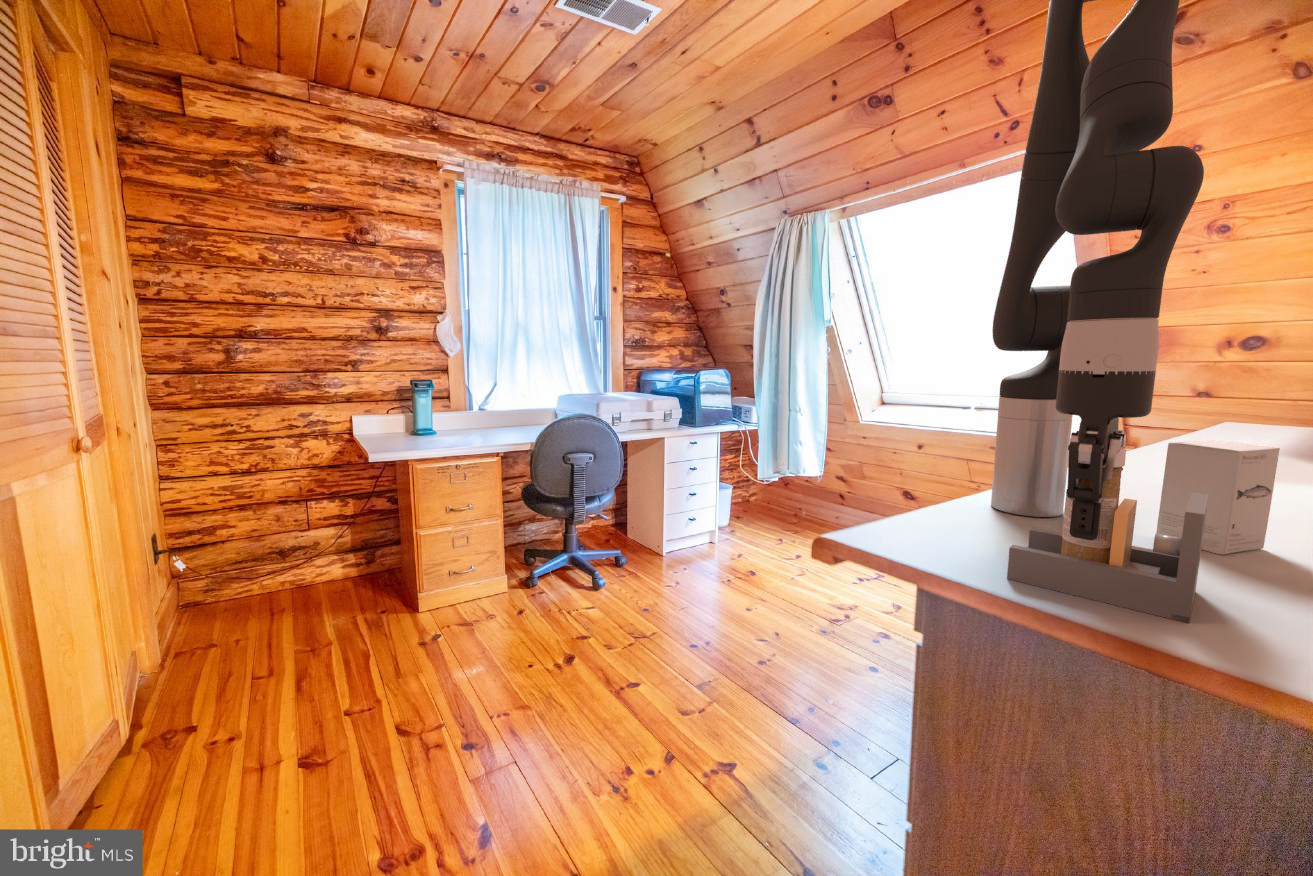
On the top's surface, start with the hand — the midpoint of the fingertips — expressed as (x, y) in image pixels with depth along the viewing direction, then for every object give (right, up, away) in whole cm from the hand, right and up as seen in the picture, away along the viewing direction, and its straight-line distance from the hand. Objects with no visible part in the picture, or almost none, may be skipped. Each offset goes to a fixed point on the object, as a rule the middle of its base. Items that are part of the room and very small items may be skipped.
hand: (1087, 531), depth 58 cm
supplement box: (+24, -4, +12) cm, 27 cm away
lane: (+1, -5, 0) cm, 6 cm away
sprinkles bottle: (0, -5, +1) cm, 4 cm away
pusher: (+3, -5, -2) cm, 6 cm away
